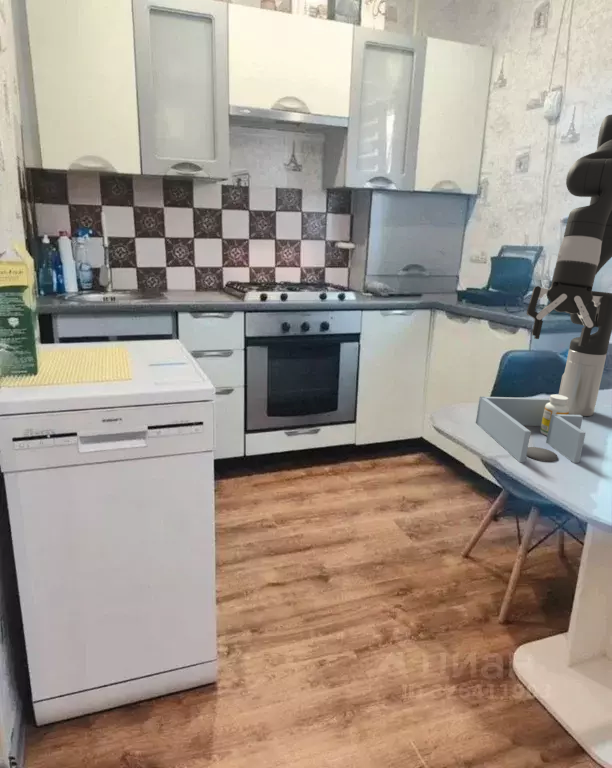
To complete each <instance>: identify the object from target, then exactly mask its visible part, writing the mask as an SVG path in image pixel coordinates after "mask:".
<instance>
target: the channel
mask: <svg viewBox="0 0 612 768" xmlns="http://www.w3.org/2000/svg"><path fill="white" fill-rule="evenodd" d="M549 399H550V397H549V398H546V397H544V398H543V397H513V396H512V397H511V396H509V397H507V396H505V397H504V396H479V399H478V405H477V413H476V418H475V424H476V425H478V426H479V427H480V428H481V429H482V430H483V431H484V432H485V433H487V434H488V435H489V436H490V437H491V439H493V440H494V441H496V442H497V443H498V444H499V445H500V446H501V447H502V448H503V449H505V451H507V452H508V453H509V454H510V455H511V456H512V457H513V458H515V459H516V460H517V462H519V463H526V459H527V456H526V455H527V449H528V447H529V443H530V438H531V432H532V431H531V430H530V429H528V428H527V426H530V427H531V426H533V427H541V424H542V419H543V414H544V409H545V405H546V404H547V403H549V402H550V400H549ZM583 418H584V416H581V415H573V414H568V415H566V414H551V419H550V425H549V430H548V435H547V436H546V441H545V442H546V444H548V445H549V446H550V447H552V448H553V449H554V450H556V451H558V452H559V454H561V455H562V456H564V457H565V458H566V459H568V460H569V461H571V462H572V463H573V464H580V460H581V455H582V451H583V446H584V442H585V438H586V431H584V430H582V429H581V428H582V425H583V420H584V419H583ZM525 426H526V427H525Z"/></svg>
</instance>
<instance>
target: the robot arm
mask: <svg viewBox="0 0 612 768" xmlns="http://www.w3.org/2000/svg"><path fill="white" fill-rule="evenodd" d="M565 183H566V184H565V185H566V188H567V191H568V192H569V193H570V194H571V195H572V196H575V197H581V198H590V201H589V205H585V206H580V207H576V208H573V209H572V210H570V212H569V213H568V216H567V221H566V226H565V229H564V233H563V238H562V242H561V244H560V247H559V250H558V255H557V258H556V263H555V267H554V271H553V276H552V279H551V285H550V287H549V288H544V287H540V286H538V285H537V286H534V287H533V289H532V292H531V297H530V299H529V303H528V306H527V309H526V316H528V317H531V318H533V321H534V322H533V326H532V330H531V335H532V336H534V339H535V340H539V339H540V336H541V332H542V329H543V322H544V321H543V319H544V318H545V317H546V316H548V314H550V313H551V312H552V311H556V312H558V313H566V314H570V315H569V317H570V321H571V322H572V324H574V325H578V326H579V325H580V326H583V327H582V328H581V331H580V332H581V333H580V336H578V337H574V338H572V339H571V340H570V343H569V346H568V347H569V348H568V352H567V353H568V354H567V356H566V357H567V358H566V364H565V368H564V373H563V374H562V375H561V381H560V386H559V391H558V395H562V396H566V397H567V398H568V403H567V404H566V406H567V407H568V408H569V413H568V415H581V416H583V417H590V416H593V415H594V412H595V408H596V405H597V400H598V396H599V390H600V386H601V381H602V379H603V378H602V377H603V373H604V370H605V369H604V368H605V363H606V358H607V356H608V355H607V354H608V348H609V345H610V340H611V337H612V336H611V335H612V292H606V291H605V292H603V291H594V290H593V288H594V287H593V286H594V282H595V278H596V276H597V274H598V273H599V271H600V270H601V269H602V268H603V267H604V265H606V263H608V262H609V260H611V258H612V114H608V115H606V116H605V117H604V118H603V119H602V121H601V124H600V128H599V131H598V138H597V145H596V150H595V151H594V152H592V153H591V152H590V153H589V154H586V155H583V156H582V157H579V158H578V159H577V160H576V161H574V163H572V165H571V166H570V168H569V170H568V172H567V175H566V180H565ZM545 295H546V297H547V298H548V301H549V303H548V304H547V305H546V306H545V307H543V308H542V310H540V311H539V312H537V311H536V307H537V305H538V302H539V301H538V300H539V299H541V298H543V296H545ZM595 328H598V330H596V331H595V332H594V333H592V330H593V329H595Z"/></svg>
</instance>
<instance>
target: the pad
mask: <svg viewBox="0 0 612 768" xmlns="http://www.w3.org/2000/svg"><path fill="white" fill-rule="evenodd" d="M526 457H527V458H530V459H533V460H535V461H540V462H548V463H549V462H551V463H552V462H556V461H557V460H558V454H556V452H554V451H552V450H549V449H547V448H543V447H537V446H528V449H527V455H526Z"/></svg>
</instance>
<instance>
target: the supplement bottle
mask: <svg viewBox="0 0 612 768" xmlns="http://www.w3.org/2000/svg"><path fill="white" fill-rule="evenodd" d="M549 398H550V399H549V400H550V402H549V403H547V404H546V405H545V409H544V414H543V419H542V424H541V426H540V430H539V431H540V433H541V434H542V435H544V436H546V437H547V435H548V430H549V425H550V419H551V414H566V415H569V408H568V407H567V406H566V404H567V403H568V398H567V397H566V396H562V395H559V394H557V393H556V394H550V396H549Z"/></svg>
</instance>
